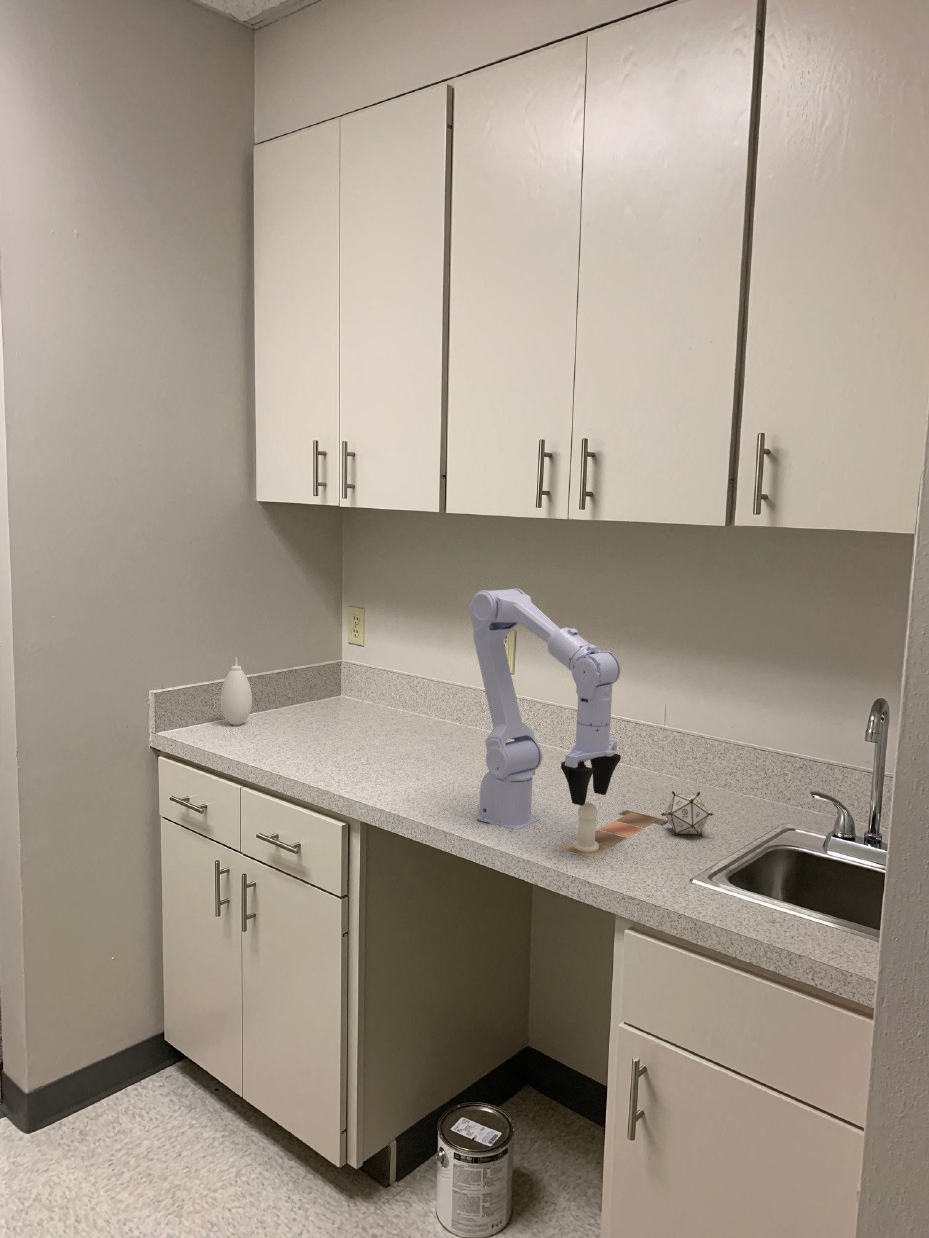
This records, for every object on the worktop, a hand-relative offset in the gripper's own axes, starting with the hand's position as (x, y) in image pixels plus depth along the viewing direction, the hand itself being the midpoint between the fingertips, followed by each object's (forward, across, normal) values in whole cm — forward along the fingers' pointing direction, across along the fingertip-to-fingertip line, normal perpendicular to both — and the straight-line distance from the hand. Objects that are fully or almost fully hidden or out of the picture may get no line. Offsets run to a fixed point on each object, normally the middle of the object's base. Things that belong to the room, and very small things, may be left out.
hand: (589, 798), depth 164 cm
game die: (+10, +19, -10) cm, 24 cm away
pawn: (+9, 0, 0) cm, 9 cm away
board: (+9, +10, 0) cm, 13 cm away
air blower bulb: (+10, +16, +113) cm, 115 cm away
